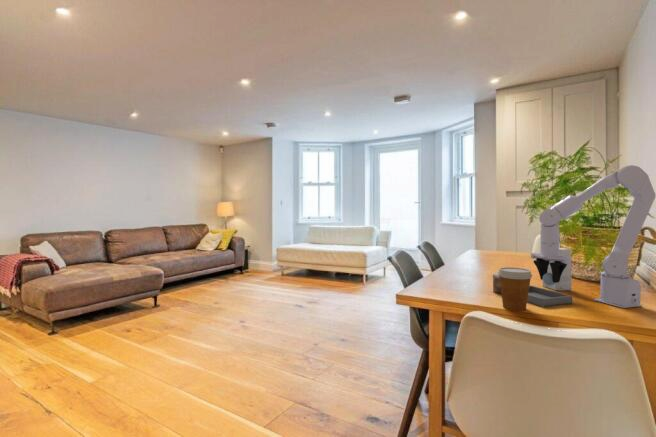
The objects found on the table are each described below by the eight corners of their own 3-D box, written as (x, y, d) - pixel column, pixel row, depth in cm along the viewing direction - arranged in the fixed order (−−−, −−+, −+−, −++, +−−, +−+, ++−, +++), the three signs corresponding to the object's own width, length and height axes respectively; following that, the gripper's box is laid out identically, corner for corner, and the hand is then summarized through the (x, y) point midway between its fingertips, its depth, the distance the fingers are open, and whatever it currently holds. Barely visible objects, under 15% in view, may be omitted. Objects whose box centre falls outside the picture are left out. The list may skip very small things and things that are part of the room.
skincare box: (572, 290, 127) (572, 249, 126) (554, 291, 127) (554, 249, 126) (557, 285, 135) (557, 246, 135) (540, 285, 135) (541, 246, 135)
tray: (572, 303, 110) (572, 296, 110) (542, 307, 107) (542, 299, 107) (530, 292, 125) (530, 285, 125) (503, 294, 122) (504, 287, 122)
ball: (560, 286, 121) (560, 273, 121) (550, 286, 120) (550, 274, 119) (549, 283, 125) (549, 271, 125) (539, 284, 124) (539, 272, 124)
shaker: (510, 293, 124) (510, 275, 124) (499, 294, 122) (499, 276, 122) (500, 290, 128) (500, 273, 128) (489, 291, 127) (489, 274, 127)
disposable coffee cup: (501, 301, 113) (501, 266, 113) (534, 307, 107) (534, 269, 107) (493, 308, 106) (494, 270, 105) (529, 314, 100) (529, 273, 99)
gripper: (524, 241, 128) (524, 277, 128) (559, 245, 114) (559, 285, 114) (539, 241, 130) (539, 276, 130) (575, 244, 116) (575, 284, 116)
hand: (549, 280), depth 122 cm, fingers closed on ball, 4 cm apart
